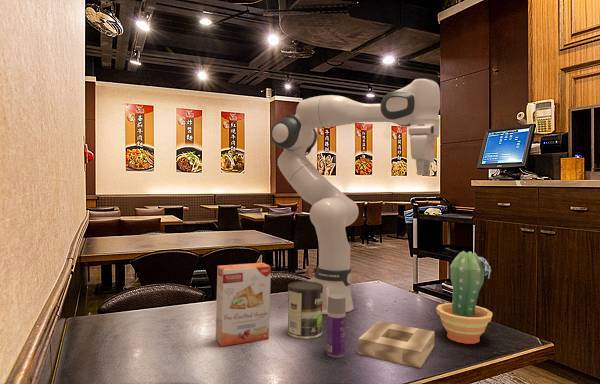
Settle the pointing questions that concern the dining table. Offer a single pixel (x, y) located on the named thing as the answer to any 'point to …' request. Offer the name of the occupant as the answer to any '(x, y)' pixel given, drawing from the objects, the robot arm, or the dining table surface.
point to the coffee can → (305, 309)
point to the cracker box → (242, 303)
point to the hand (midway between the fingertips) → (423, 175)
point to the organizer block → (397, 343)
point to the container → (336, 325)
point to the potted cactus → (466, 299)
